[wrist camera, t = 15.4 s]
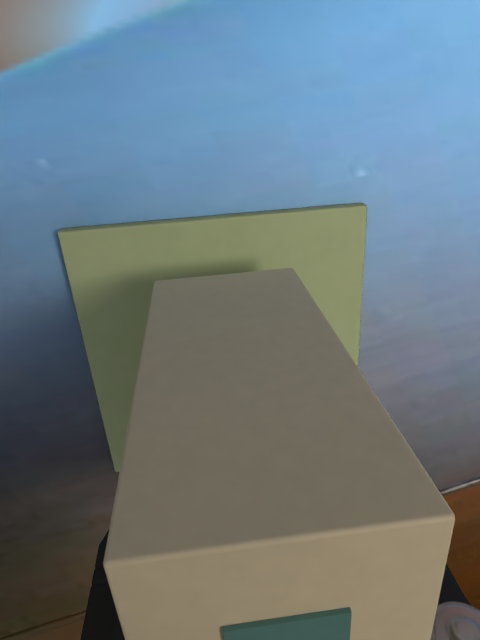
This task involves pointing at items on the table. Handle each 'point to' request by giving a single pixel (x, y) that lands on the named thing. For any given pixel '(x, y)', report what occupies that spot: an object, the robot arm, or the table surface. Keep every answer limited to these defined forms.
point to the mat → (194, 261)
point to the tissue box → (266, 479)
